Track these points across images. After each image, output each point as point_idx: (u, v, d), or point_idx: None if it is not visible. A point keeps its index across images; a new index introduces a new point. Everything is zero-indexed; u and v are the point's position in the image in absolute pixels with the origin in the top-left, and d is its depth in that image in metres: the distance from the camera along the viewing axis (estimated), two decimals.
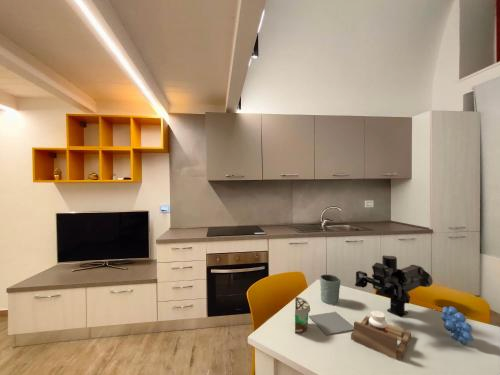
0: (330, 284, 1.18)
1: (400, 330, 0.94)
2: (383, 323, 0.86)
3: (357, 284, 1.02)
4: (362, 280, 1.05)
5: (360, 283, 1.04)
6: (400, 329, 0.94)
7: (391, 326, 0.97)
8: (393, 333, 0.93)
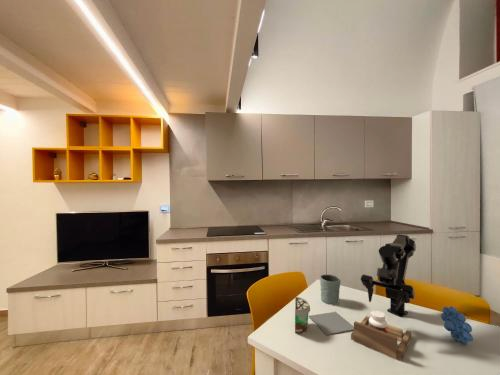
0: (330, 284, 1.18)
1: (400, 330, 0.93)
2: (383, 323, 0.86)
3: (370, 299, 0.97)
4: (371, 288, 0.99)
5: (371, 293, 0.98)
6: (400, 329, 0.94)
7: (391, 326, 0.96)
8: (393, 334, 0.92)
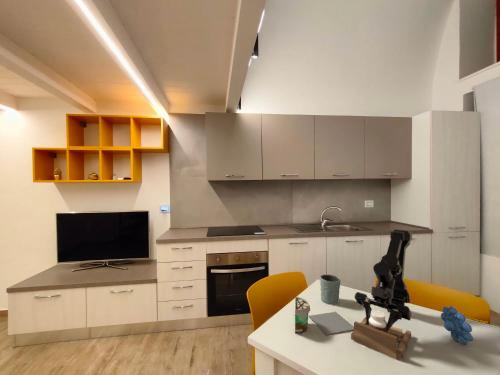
0: (330, 284, 1.18)
1: (400, 331, 0.93)
2: (383, 323, 0.86)
3: (368, 321, 0.90)
4: (369, 308, 0.93)
5: (369, 314, 0.92)
6: (400, 330, 0.94)
7: None
8: (393, 334, 0.92)
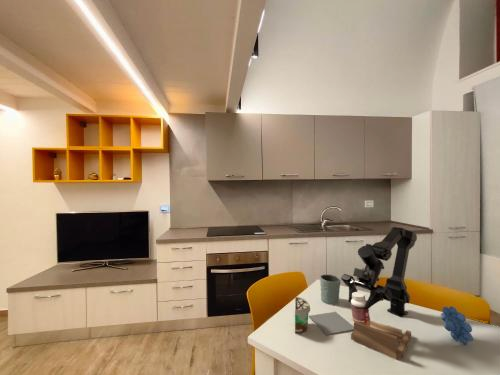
0: (330, 284, 1.18)
1: (400, 331, 0.93)
2: (363, 302, 0.90)
3: (350, 300, 0.95)
4: (353, 289, 0.97)
5: None
6: (399, 330, 0.94)
7: (390, 327, 0.96)
8: None
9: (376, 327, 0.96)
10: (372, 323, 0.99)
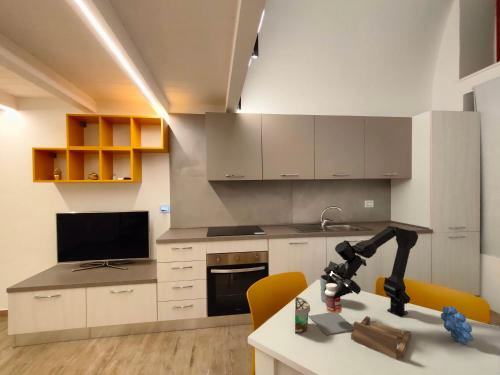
0: None
1: (399, 332, 0.93)
2: (333, 292, 1.00)
3: None
4: (331, 280, 1.06)
5: None
6: (399, 330, 0.93)
7: (390, 327, 0.95)
8: None
9: (376, 328, 0.95)
10: (372, 324, 0.98)
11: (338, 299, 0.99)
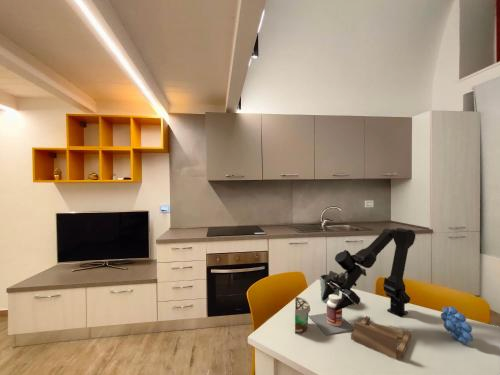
0: None
1: (399, 332, 0.92)
2: (335, 304, 0.99)
3: (324, 298, 1.06)
4: (329, 289, 1.07)
5: (328, 293, 1.07)
6: (399, 331, 0.93)
7: (390, 328, 0.95)
8: None
9: (376, 328, 0.95)
10: (372, 324, 0.98)
11: (340, 312, 0.99)
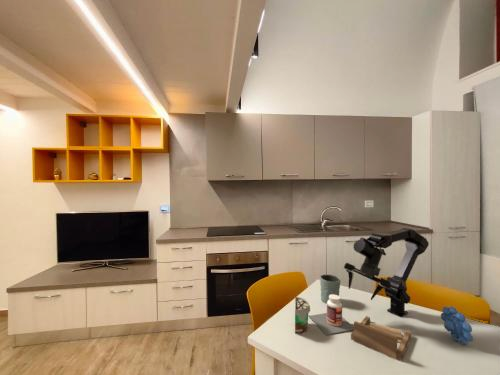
0: (330, 284, 1.18)
1: (399, 332, 0.92)
2: (335, 304, 0.99)
3: (350, 286, 1.06)
4: (352, 276, 1.06)
5: (351, 280, 1.06)
6: (399, 331, 0.93)
7: (390, 328, 0.95)
8: None
9: None
10: (371, 325, 0.97)
11: (340, 312, 0.99)
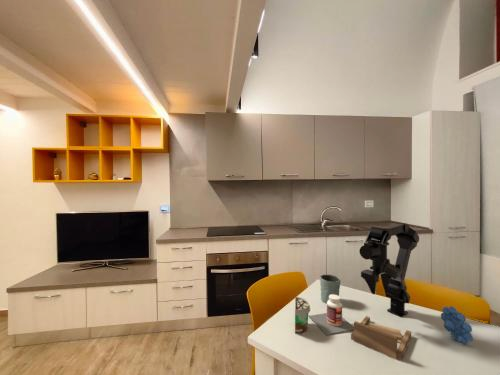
0: (330, 284, 1.18)
1: (399, 332, 0.92)
2: (335, 304, 0.99)
3: None
4: None
5: None
6: (398, 331, 0.93)
7: (389, 328, 0.95)
8: None
9: None
10: (371, 325, 0.97)
11: (340, 312, 0.99)
